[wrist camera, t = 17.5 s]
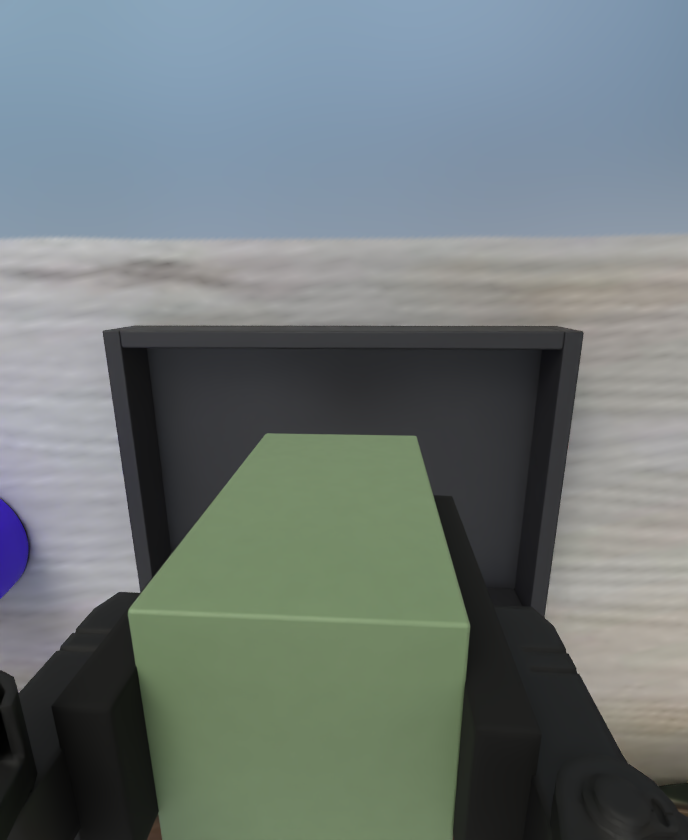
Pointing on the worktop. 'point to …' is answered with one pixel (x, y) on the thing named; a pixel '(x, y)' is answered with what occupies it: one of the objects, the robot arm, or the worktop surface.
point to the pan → (354, 423)
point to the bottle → (11, 548)
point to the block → (307, 651)
